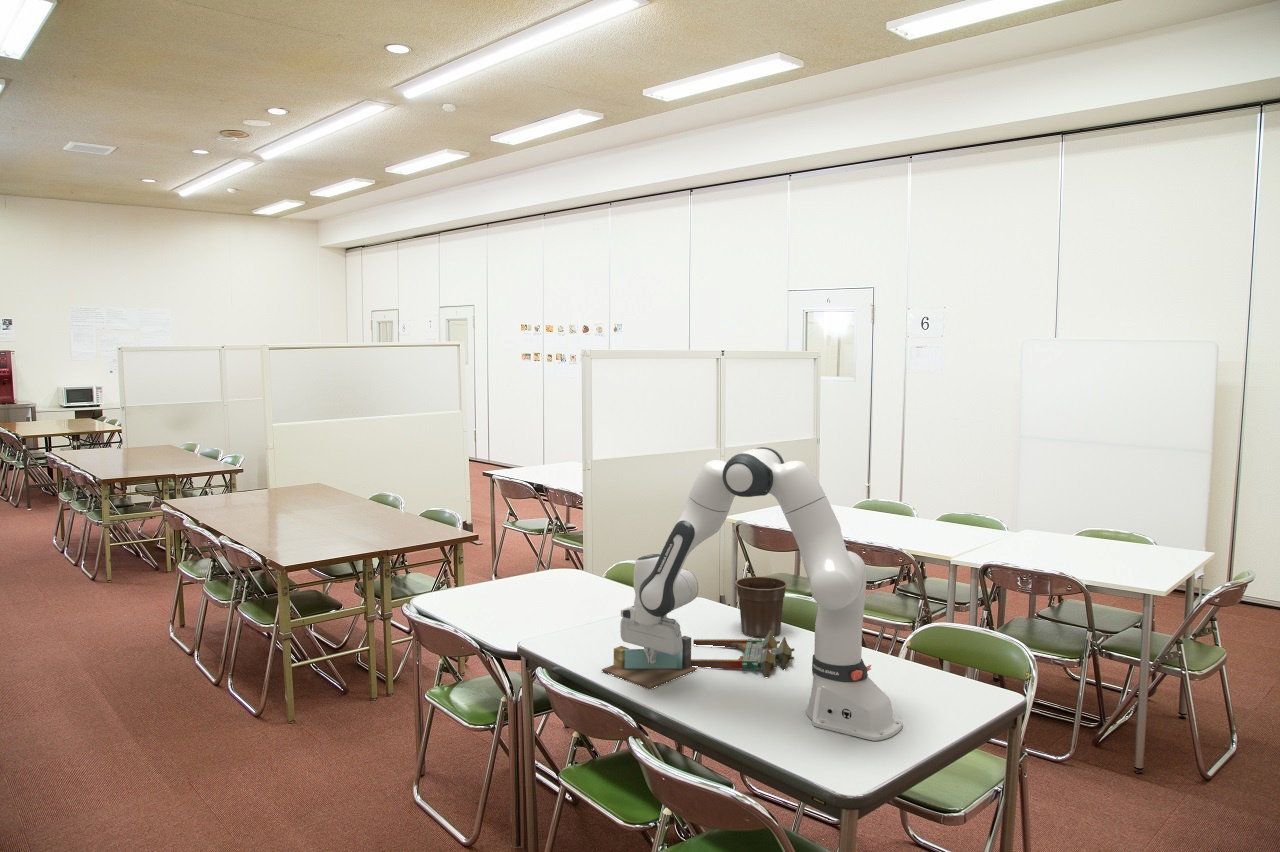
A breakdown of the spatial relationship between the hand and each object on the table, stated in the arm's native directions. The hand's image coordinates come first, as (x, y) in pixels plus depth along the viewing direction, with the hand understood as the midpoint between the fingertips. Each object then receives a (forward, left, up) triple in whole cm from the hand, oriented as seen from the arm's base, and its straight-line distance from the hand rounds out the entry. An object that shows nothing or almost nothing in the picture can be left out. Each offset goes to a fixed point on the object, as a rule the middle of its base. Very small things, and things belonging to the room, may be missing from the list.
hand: (651, 663), depth 227 cm
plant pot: (0, -51, -3) cm, 51 cm away
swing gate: (+1, -2, -2) cm, 3 cm away
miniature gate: (-10, -27, -4) cm, 29 cm away
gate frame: (+2, -1, -3) cm, 4 cm away
